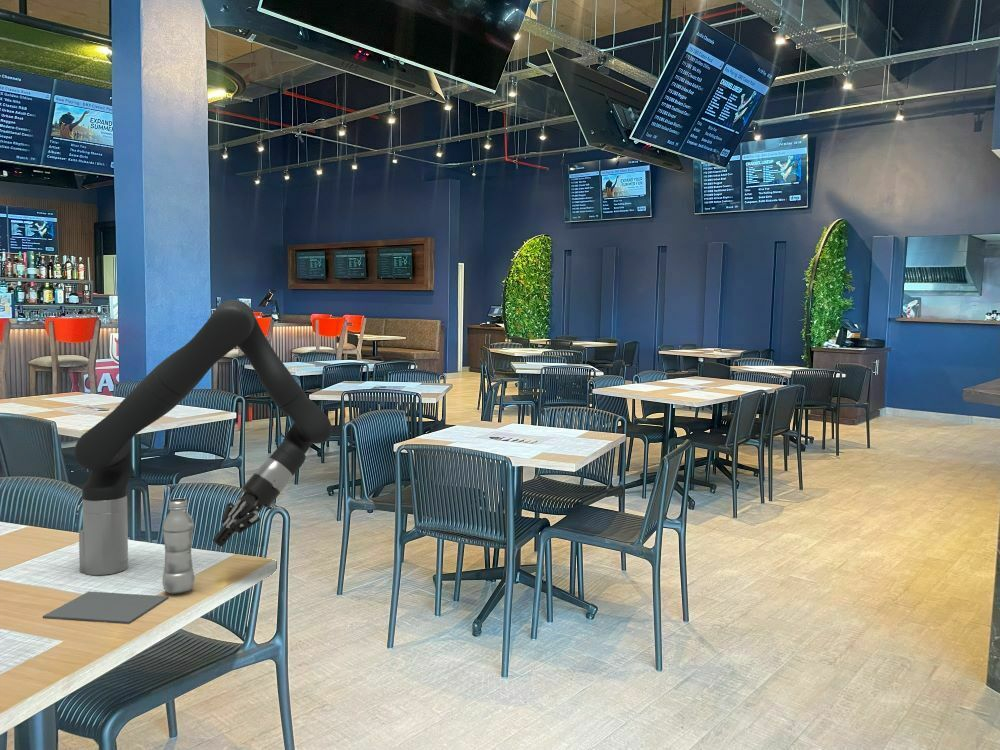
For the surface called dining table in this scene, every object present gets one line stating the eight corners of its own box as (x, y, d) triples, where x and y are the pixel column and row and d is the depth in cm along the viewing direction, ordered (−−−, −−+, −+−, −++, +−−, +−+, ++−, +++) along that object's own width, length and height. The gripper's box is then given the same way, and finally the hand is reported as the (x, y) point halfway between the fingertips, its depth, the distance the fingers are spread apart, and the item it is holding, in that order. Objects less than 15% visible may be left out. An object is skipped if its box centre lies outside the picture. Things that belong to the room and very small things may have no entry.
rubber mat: (42, 618, 151) (42, 616, 151) (88, 593, 164) (88, 591, 164) (129, 623, 149) (129, 621, 148) (168, 598, 162) (168, 596, 162)
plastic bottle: (160, 598, 162) (159, 504, 161) (164, 587, 169) (164, 497, 167) (192, 596, 164) (192, 503, 163) (196, 585, 170) (195, 496, 169)
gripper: (244, 468, 182) (192, 528, 174) (270, 477, 172) (217, 540, 165) (265, 487, 186) (215, 546, 178) (292, 497, 176) (241, 560, 169)
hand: (216, 543), depth 172 cm, fingers closed
